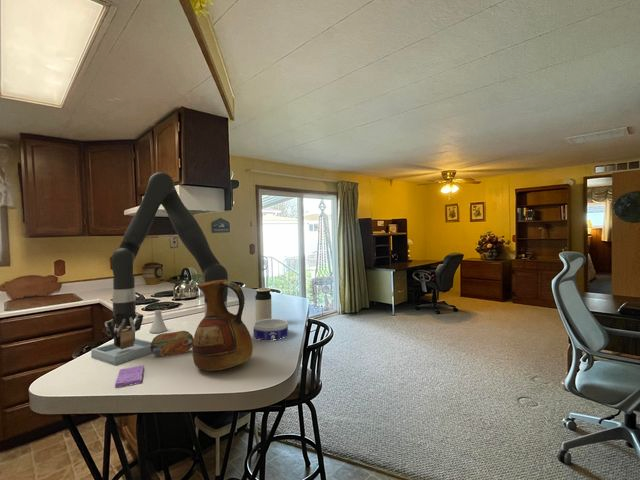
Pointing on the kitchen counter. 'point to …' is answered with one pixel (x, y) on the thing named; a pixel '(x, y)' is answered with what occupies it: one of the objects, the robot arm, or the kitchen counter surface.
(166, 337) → the tin
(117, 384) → the sponges
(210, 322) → the ceramic pitcher
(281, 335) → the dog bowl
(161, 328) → the flask
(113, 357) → the tray
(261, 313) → the travel mug
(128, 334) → the walnut block
